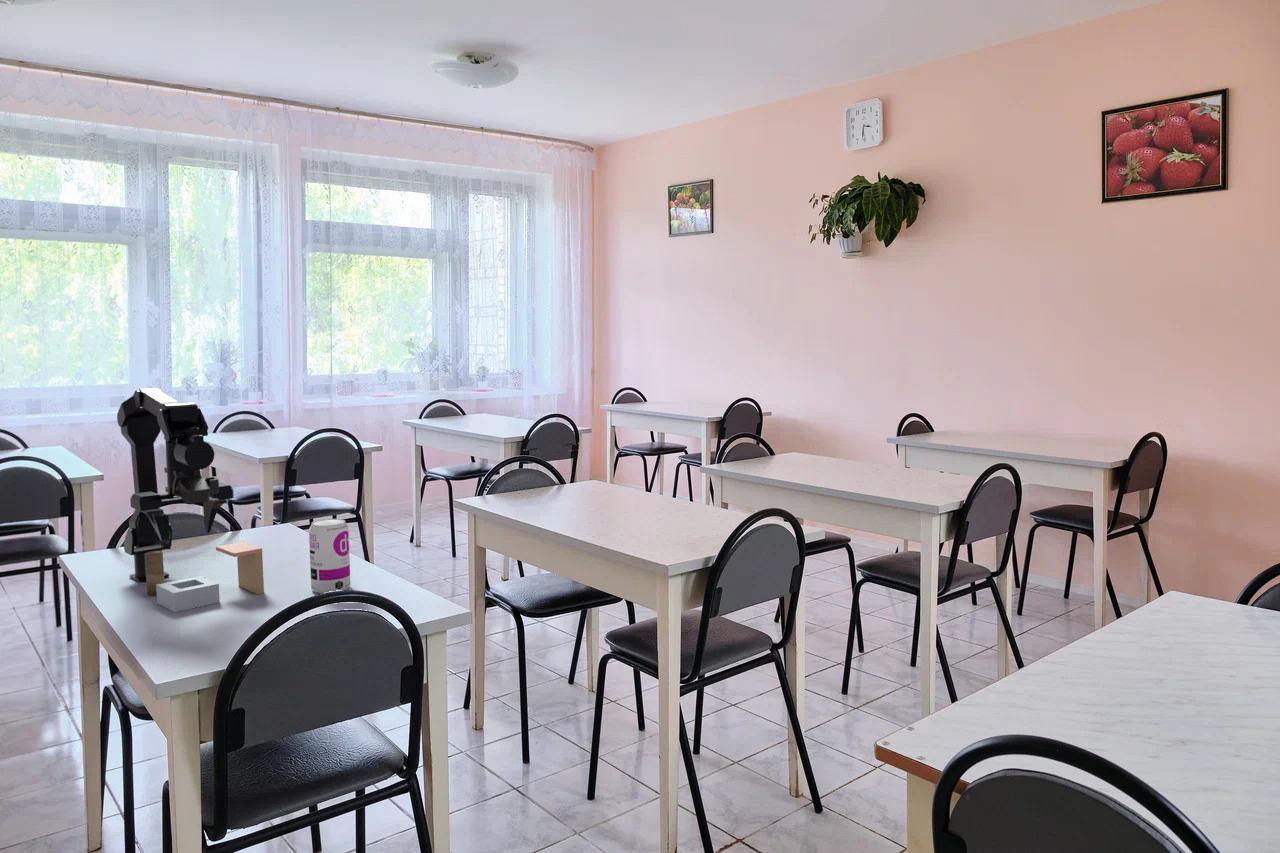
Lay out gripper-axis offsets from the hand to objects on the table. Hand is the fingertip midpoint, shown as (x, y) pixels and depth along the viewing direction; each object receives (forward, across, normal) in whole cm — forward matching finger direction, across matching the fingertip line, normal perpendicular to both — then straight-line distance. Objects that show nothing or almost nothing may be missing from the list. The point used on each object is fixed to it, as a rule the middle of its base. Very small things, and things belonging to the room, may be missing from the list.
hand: (185, 536), depth 190 cm
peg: (+14, -3, +9) cm, 17 cm away
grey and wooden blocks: (+14, +4, -3) cm, 14 cm away
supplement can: (+13, +24, -16) cm, 32 cm away
